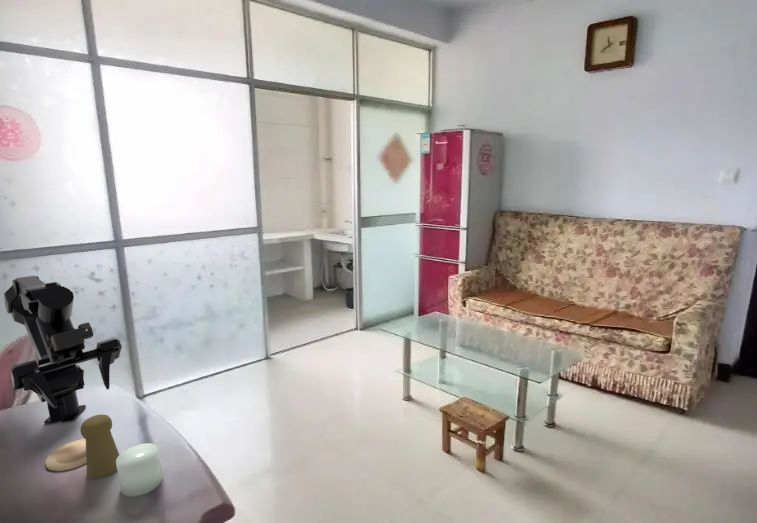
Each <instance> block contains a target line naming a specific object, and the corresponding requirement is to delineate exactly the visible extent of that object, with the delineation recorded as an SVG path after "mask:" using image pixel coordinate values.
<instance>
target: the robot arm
mask: <svg viewBox="0 0 757 523" xmlns="http://www.w3.org/2000/svg"><path fill="white" fill-rule="evenodd" d="M3 295H4V296H3V297H4V298H3V299H4V307H5V310H6V313H7V314H8V315H9V314H10V315H11V317H12V319H13V321H14V322H15V323H18V324H20V325H23V326H24V327H25V329H26V332H27V334H28V336H29V339H30V342H31V344H32V346H33V348H34V351H35V353H36V356H37V358H38V361H37V360H35V359H33V360H29V361H26V362H22V363H18V364H15V365H13V366H12V367H11V369H10V378H11V383H12V386H13V389H14V390H15V391H16V390H17V391H18V390H22V389H23V391H26V392H27V391H32V392H33V393H35V394H36V395H37V397H38V399H39V400H40V402H41V403H45V402H46V405H47V409H48V410H47V411H48V414H49V416H48V417H47V418H46V419H45V420H44V421H43V423H44V424H43V425H49V424H50V425H51V424H56V423H65V422H73V421H75V420H76V419H77V418H78V417H79V415H80V414H81V413H82V412H83V411H85V409H86V407H87V405H86V404H81V405H79V399H78V395H77V391H79V390H83V389H85V388H84V387H85V380H84V378H85V377H84V375H85V370H84V369H83V368H82V367H81V366H80V364H81V363H84V362H87V361H91V360H94V359H97V362H99V363H98V369H99V372H100V373H99V374H100V376H101V379H102V382H103V385H104V387H105V389H106V390H107V391H108V390H110V366H111V365H112V364H114V363H115V360H117V359H118V358H119V357H120V355H121V350H122V349H123V348H122V347H123V345H122V344H121V340H120V339H118V338H116V337H112V338H108V339H105V340H101V341H98V342H97V343H96V348H94V349H91V350H87V351H84V350H85V348H86V346H85V343H86V341H85V340H89V339H92V338H93V337H94V331H93V329H92V326H91V323H90V322H89V321H87V322H84V323H80V324H79V325H78V326H77V328H75V327H74V324H73V322H72V320H71V316H72V314H73V305H74V298H75V297H74V293H73V291H72V290H71V289H70V288H67V287H66V286H63V285H61V283H60V282H57V281H53V282H49V283H48V282H47V283H45V282H44V281H42V280H41V279H40V278H39V276H38V275H29V276H23V277H17V278H16V277H15V279H12V285H11V286H10V287H9V288H8V289H7V290H6V291H5V292H4V294H3Z"/></svg>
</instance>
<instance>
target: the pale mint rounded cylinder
mask: <svg viewBox="0 0 757 523" xmlns="http://www.w3.org/2000/svg"><path fill="white" fill-rule="evenodd" d="M116 466H117V471H116V472H117V476H118V481H119V486H120V491H121V494H122V495H123V496H125V497H129V498H132V497H133V498H134V497H140V496H143V495H145V494H148V493H150V492H152V491H153V490H156V488H157V487H159V486H160V485H161V483H162V481H163V479H164V475H163V474H164V473H163V469H162V468H163V466H162V461H161V456H160V448H159V445H157V444H155V443H148V442H147V443H140V444H137V445H134V446H131V447H129V448H126V449H125V450H124V451H122V452H120V453H119V456H118V457H117V459H116Z"/></svg>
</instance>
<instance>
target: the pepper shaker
mask: <svg viewBox="0 0 757 523" xmlns="http://www.w3.org/2000/svg"><path fill="white" fill-rule="evenodd" d="M112 428H113V420H112V419H111V417H110V416H109V415H108V414H95V415H93V416H90V417H88V418H86V419H85V420H84V421H83V422H82V423H81V425H80V429H79V430H80V435H81V436H82V437H83V439H84V438H85V439H86V476H87V478H88V479H91V480H99V479H103V478H106V477H109V476H111V475H112V474H114V473H116V472H118V471H117V466H116V459H117V457H118V456H119V455H120V453H119V450H118V448H117V445H116V442H115V439H114V437H113V434H112V432H111V430H112Z"/></svg>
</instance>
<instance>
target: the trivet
mask: <svg viewBox="0 0 757 523" xmlns="http://www.w3.org/2000/svg"><path fill="white" fill-rule="evenodd" d="M85 464H86V439H85V438H84V437H83V438H81V439H80V438H79V439H77V440H73V441H70V442H68V443H66V444H63V445H61V446H60V447H58V448H56V449H55V450H54V451H52V452H51V453H50V454H49V455H48V456H47V457H46V459H45V466H46V468H47V469H48V470H50V471H52V472H53V471H54V472H62V471H68V470H73V469H75V468H78V467H81V466H83V465H85Z"/></svg>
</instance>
